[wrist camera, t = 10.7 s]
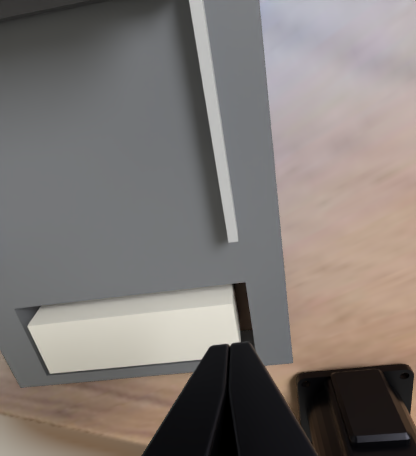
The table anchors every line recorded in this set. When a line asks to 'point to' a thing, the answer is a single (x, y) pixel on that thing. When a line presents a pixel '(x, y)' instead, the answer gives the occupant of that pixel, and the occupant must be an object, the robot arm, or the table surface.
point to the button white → (136, 329)
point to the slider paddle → (37, 7)
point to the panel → (136, 168)
